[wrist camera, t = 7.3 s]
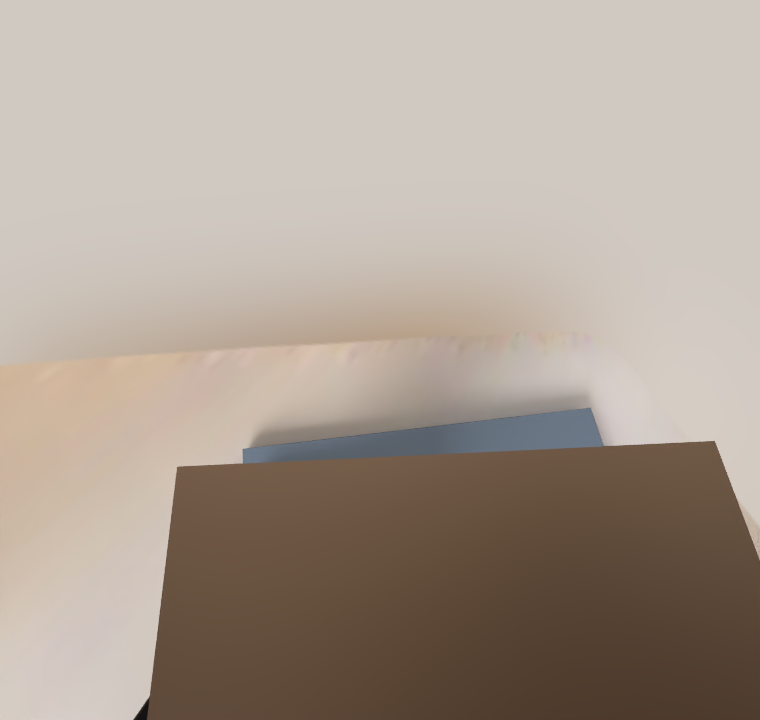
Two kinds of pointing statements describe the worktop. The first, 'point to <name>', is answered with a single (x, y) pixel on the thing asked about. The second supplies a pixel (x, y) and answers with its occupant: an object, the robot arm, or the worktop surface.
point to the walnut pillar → (461, 589)
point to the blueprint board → (447, 439)
